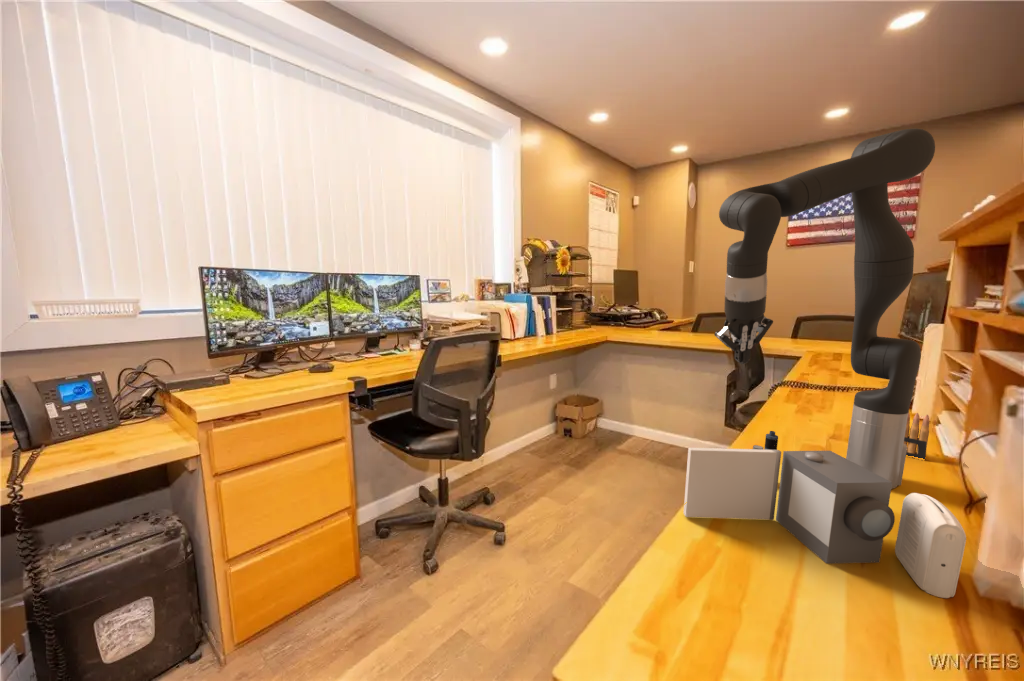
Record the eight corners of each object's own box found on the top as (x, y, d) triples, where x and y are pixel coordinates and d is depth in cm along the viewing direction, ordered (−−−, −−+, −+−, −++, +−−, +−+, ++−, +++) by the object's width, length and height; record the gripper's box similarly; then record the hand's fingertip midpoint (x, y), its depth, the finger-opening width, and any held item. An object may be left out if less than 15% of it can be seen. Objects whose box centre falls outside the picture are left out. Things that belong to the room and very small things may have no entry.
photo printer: (960, 603, 58) (975, 523, 56) (920, 593, 59) (934, 516, 58) (923, 558, 67) (935, 489, 65) (889, 551, 69) (900, 483, 67)
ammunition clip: (870, 447, 112) (876, 406, 110) (871, 446, 113) (877, 404, 111) (924, 461, 104) (932, 416, 102) (925, 459, 105) (932, 414, 103)
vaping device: (775, 485, 91) (781, 434, 89) (750, 482, 92) (755, 432, 90) (770, 479, 93) (776, 430, 92) (746, 477, 94) (750, 428, 93)
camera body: (821, 519, 78) (830, 446, 76) (893, 572, 64) (907, 485, 62) (775, 520, 78) (783, 447, 75) (837, 573, 63) (850, 485, 61)
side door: (775, 520, 77) (783, 452, 75) (685, 517, 77) (691, 450, 75) (769, 514, 79) (776, 448, 77) (682, 511, 79) (687, 446, 77)
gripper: (760, 277, 87) (755, 345, 95) (704, 295, 86) (705, 362, 94) (788, 288, 81) (781, 360, 89) (729, 307, 80) (727, 379, 88)
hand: (742, 361), depth 92 cm, fingers closed
